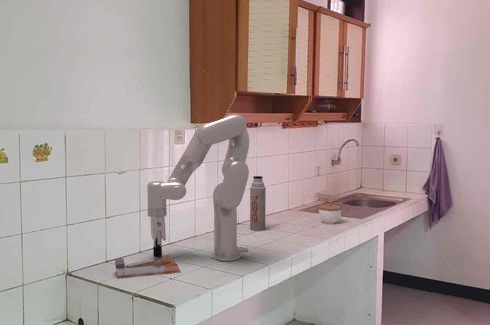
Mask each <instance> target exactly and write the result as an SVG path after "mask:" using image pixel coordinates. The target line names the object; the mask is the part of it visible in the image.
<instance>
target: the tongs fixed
mask: <svg viewBox="0 0 490 325" xmlns="http://www.w3.org/2000/svg"><path fill="white" fill-rule="evenodd" d="M178 268H179V265H178V263H176V264H167V265H156V266H145V267H134V268H121V269H117V271H116V276H117V278H118V277H125V276H136V275H147V274H157V273H169V272H178Z"/></svg>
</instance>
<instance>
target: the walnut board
mask: <svg viewBox="0 0 490 325" xmlns="http://www.w3.org/2000/svg"><path fill="white" fill-rule="evenodd" d="M167 264H177V263H176V261H175V260H172V262H171V263H167ZM167 264H162V265H167ZM125 268H126V265H125ZM115 270H116V272H117V269H116V268H115ZM169 274H170V275H171V274H173V275H174V274H182V270H180V267H178V272H169V273H157V274H147V275H136V276H125V277H118V276H117V279H127V278H129V279H130V278H139V277H150V276H159V275H161V276H162V275H169Z"/></svg>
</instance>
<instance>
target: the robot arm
mask: <svg viewBox="0 0 490 325" xmlns="http://www.w3.org/2000/svg"><path fill="white" fill-rule="evenodd" d="M247 126H248V123H247V121H246V119H245V117H244V116H242V115H240V114H235V113H233V114H227V115H226V116H224V117H223V118H221V119H218V120H216V121H212V122H207V123H206V122H204V123H202V124H199V126H198V127H197V128H196V129H195V132H194V134H193V135H192V137H191V139H190V140H189V143H188V145H187V146H186V148H185V149H184V152H183V154H181V157H180V158H179V160H178V162H177V164H176V165H175V167H174V168H173V170H172V172H171V174H170V176H169V178H168V180H166V182H165V181H162V180H156V181H155V180H152V181H149V182H148V183H147V192H146V193H147V217H148V218H149V217H150V235H151V239H152V241H153V248H152V250H153V254H152V255H153V257H154V258H158V257H162V256H163V250H162V248H163V247H162V244H163V242H162V240H163V241H166V240H167V237H166V221H165V217H166V216H167V211H168V210H167V209H168V208H167V200H169V201H170V200H172V201H179V200H182V199H183V198H184V197H185V196H186V194H187V187H186V184H187V183H188V181H189V179H190V178H191V176H192V174H193V173H194V172H195V170H198V169H199V167H200V166H201V165H202V164H203V163H204V160H206V156H207V155H208V152H209V151H210V149H211V147H212V146H213V145H217V144H219V143H222V142H226V141H228V146H227V149H226V154H225V157H224V161H223V163H222V165H221V166H222V167H221V174H222V175H223V179H222V182H220V183H218V184H217V185H216V186H215V187H214V189H213V192H212V202H213V252H212V253H211V254H210V259H211V260H213V261H216V262H234V261H237V260H239V259H241V254H242V253H249V252H248V251H249V248H248V247H243V246H240V247H239V246H238V245H237V244H238V240H237V239H238V231H237V230H238V229H237V228H238V223H237V222H238V212H237V208H238V206H239V205H240V204H241V202H242V199H243V197H244V194H245V190H246V187H247V183H248V180H249V175H250V174H249V173H250V171H249V170H250V169H249V165H248V164H247V163H246V161H247V158H248V153H249V149H250V135H249V132H248V130H247V128H248V127H247Z"/></svg>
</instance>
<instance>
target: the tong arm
mask: <svg viewBox="0 0 490 325" xmlns="http://www.w3.org/2000/svg"><path fill="white" fill-rule="evenodd" d="M171 262H173V256H171V255H169V254H167V255H162V256H161V257H154V258H149V259H145V260H141V261H136V262H131V263H126V264H125V266H126V268H134V267H145V266H156V265H162V264H167V263H171Z"/></svg>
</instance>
